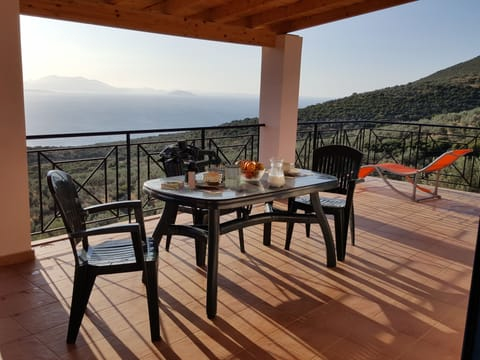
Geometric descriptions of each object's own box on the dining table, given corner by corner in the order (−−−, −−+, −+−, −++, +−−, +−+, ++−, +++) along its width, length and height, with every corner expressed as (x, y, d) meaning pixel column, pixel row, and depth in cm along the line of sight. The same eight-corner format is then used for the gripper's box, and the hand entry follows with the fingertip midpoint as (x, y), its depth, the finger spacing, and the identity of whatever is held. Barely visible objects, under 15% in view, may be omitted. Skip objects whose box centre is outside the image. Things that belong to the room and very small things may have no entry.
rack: (170, 184, 291) (170, 180, 290) (184, 186, 287) (184, 181, 286) (161, 188, 280) (161, 183, 279) (174, 189, 276) (174, 185, 275)
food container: (228, 182, 303) (228, 168, 301) (224, 183, 297) (224, 169, 295) (211, 180, 307) (211, 166, 305) (207, 182, 301) (208, 168, 299)
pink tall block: (188, 187, 285) (188, 171, 283) (194, 187, 285) (194, 171, 284) (188, 188, 280) (188, 173, 278) (194, 188, 281) (194, 173, 279)
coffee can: (223, 184, 294) (224, 164, 291) (239, 184, 296) (239, 163, 293) (226, 188, 284) (226, 166, 281) (241, 187, 286) (242, 166, 283)
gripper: (169, 143, 298) (150, 148, 288) (187, 145, 285) (167, 150, 275) (172, 159, 301) (153, 164, 291) (189, 161, 288) (170, 168, 278)
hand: (161, 161), depth 284 cm, fingers open, 9 cm apart
